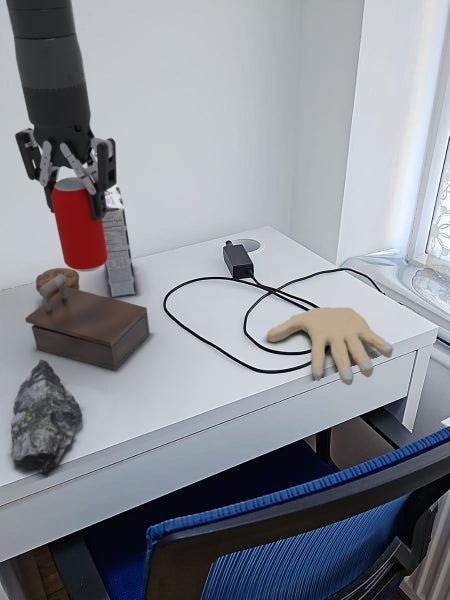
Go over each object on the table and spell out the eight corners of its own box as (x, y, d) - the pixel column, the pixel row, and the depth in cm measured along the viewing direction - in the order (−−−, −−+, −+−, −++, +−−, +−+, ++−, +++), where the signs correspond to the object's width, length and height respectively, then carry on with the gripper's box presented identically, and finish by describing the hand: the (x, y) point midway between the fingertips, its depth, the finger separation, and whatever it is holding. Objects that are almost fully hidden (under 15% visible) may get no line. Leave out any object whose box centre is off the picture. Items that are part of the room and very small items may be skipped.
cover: (26, 322, 90) (19, 294, 86) (66, 290, 97) (61, 263, 94) (111, 347, 85) (107, 318, 82) (147, 311, 93) (144, 284, 89)
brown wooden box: (37, 349, 93) (31, 326, 90) (76, 316, 100) (71, 294, 97) (115, 370, 88) (111, 347, 85) (149, 334, 95) (147, 312, 93)
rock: (6, 352, 84) (14, 375, 87) (3, 459, 68) (13, 483, 71) (70, 340, 86) (76, 364, 89) (82, 442, 70) (89, 467, 73)
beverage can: (116, 266, 84) (104, 183, 77) (78, 279, 81) (62, 195, 74) (95, 251, 88) (81, 171, 80) (58, 264, 85) (40, 182, 77)
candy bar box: (104, 270, 113) (90, 186, 102) (130, 267, 114) (119, 183, 103) (109, 299, 104) (94, 210, 94) (137, 295, 105) (125, 206, 95)
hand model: (381, 302, 97) (399, 359, 80) (379, 327, 99) (396, 388, 82) (268, 303, 99) (263, 359, 82) (269, 328, 101) (263, 387, 85)
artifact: (40, 294, 106) (34, 269, 103) (82, 288, 107) (77, 264, 104) (40, 316, 100) (34, 290, 97) (84, 309, 102) (79, 284, 98)
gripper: (121, 76, 69) (137, 212, 80) (24, 68, 74) (51, 198, 85) (86, 90, 64) (107, 234, 75) (-17, 80, 69) (18, 217, 79)
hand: (78, 214), depth 80 cm, fingers closed on beverage can, 6 cm apart
